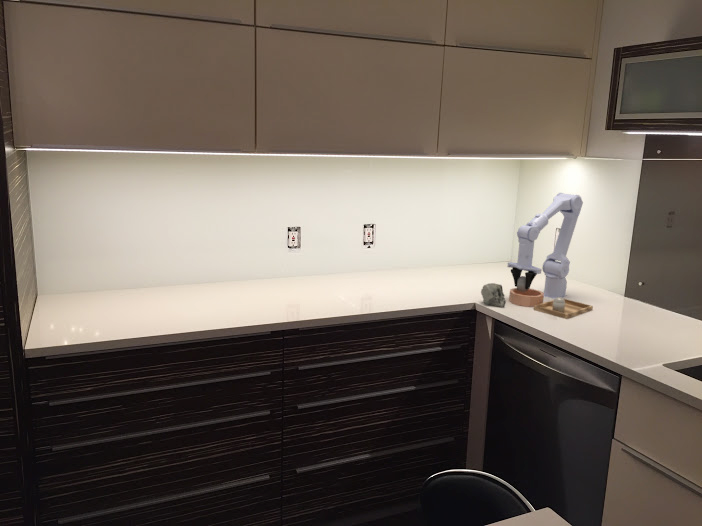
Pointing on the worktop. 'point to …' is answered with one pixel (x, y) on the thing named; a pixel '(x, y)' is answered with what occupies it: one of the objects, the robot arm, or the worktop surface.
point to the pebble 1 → (521, 283)
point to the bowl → (526, 297)
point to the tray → (569, 310)
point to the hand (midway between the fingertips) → (522, 287)
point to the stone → (493, 294)
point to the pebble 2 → (559, 304)
